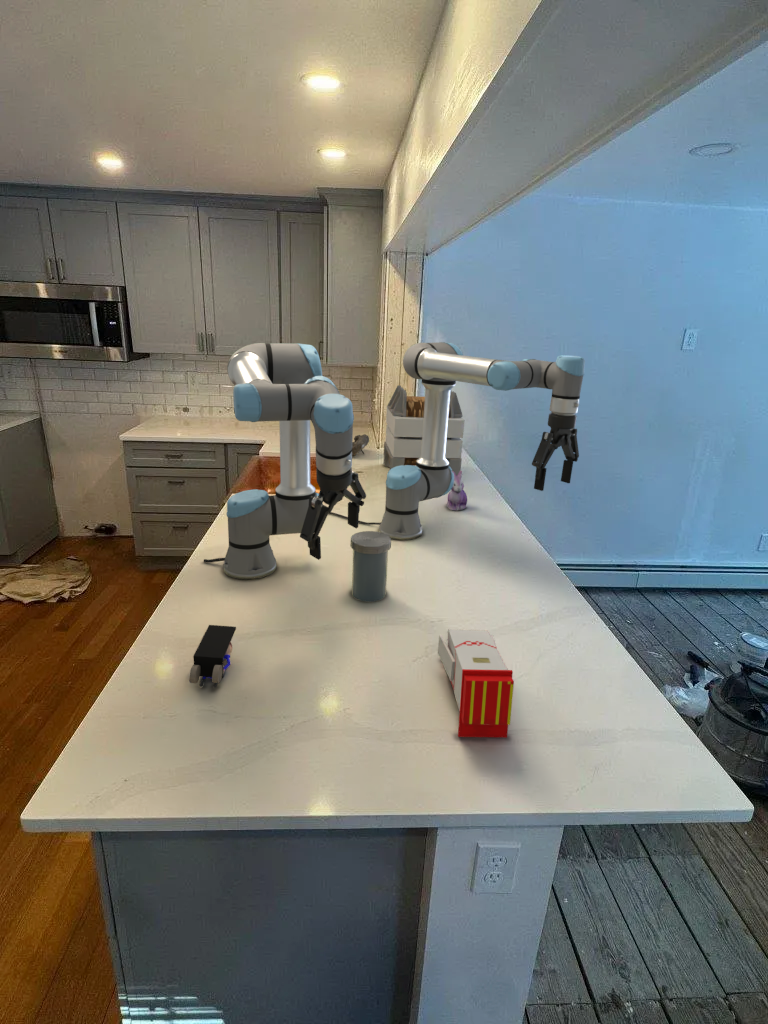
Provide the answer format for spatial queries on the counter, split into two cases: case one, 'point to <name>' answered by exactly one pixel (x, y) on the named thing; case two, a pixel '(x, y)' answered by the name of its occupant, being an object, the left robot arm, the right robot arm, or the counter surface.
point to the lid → (370, 542)
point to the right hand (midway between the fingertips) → (552, 485)
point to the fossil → (359, 444)
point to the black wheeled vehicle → (212, 654)
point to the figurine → (457, 494)
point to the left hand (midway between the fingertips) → (334, 540)
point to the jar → (369, 576)
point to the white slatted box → (418, 430)
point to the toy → (478, 682)
